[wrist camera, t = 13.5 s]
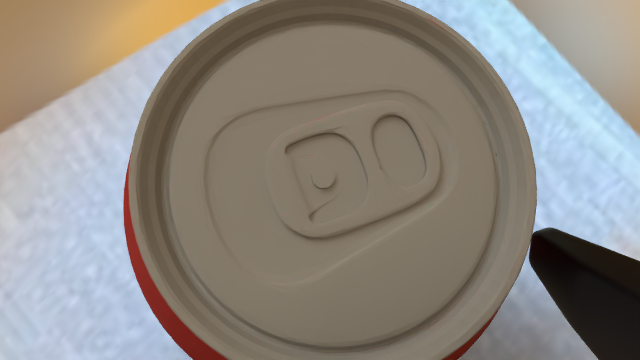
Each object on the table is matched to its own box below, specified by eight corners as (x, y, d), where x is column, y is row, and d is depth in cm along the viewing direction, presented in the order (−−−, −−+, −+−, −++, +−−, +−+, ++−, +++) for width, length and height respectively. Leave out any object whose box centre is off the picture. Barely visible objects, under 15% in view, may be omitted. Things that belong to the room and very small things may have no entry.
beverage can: (202, 187, 18) (13, 20, 6) (357, 134, 18) (465, -106, 7) (256, 353, 16) (155, 562, 5) (419, 289, 17) (683, 329, 5)
